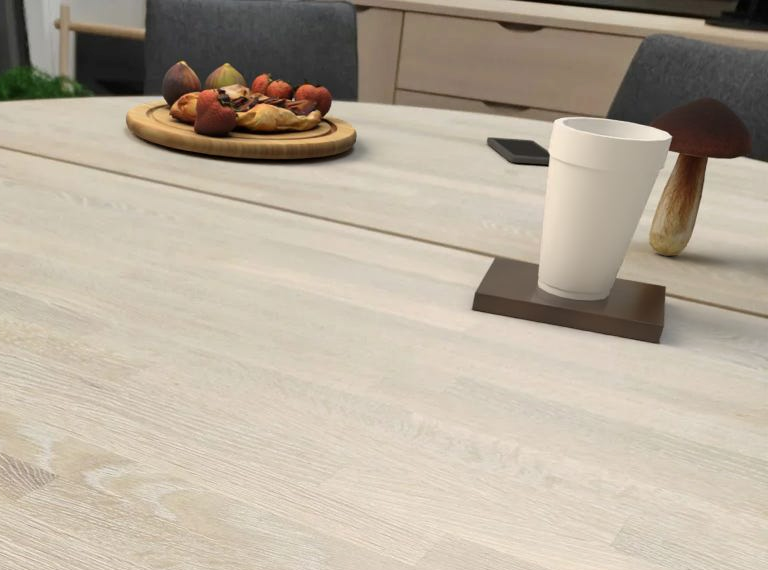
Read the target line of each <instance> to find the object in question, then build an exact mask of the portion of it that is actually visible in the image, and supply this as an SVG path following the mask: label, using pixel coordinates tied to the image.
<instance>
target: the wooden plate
mask: <svg viewBox="0 0 768 570" xmlns="http://www.w3.org/2000/svg"><path fill="white" fill-rule="evenodd" d="M291 83H292V82H291V80H290V79H289V80H285V81H284V80H283V79H277V80H274V79H273V77H272V73H267V72H263V73H262V74H261V75H259V76H257V77H256V78H255V79H254V80H253V81H252V84H251V88H249V87H247V82H246V80H245V78H244V77H243V75H242V74H241V73H240V72H239V71H237V70H236V69H235V68H234V67H233V66H231V64H230V63H229V62H226V63H223V65H221V66H220V67H218V68H216V69H214V71H212V72H211V73H210V74H209V75H208V76H207V78H206V80H205V82H204V86H203V88H202V84H201V81H200V79H199V77H198V76H197V74H196V73H195V71H194V70H193V69H192V68H191V67H190V66H188V64H187V62H186V61H185V60H181V61H179V62H176V63H175V64H174V65H172V66H171V67H170V68H168V70H167V72H166V73H165V76H164V78H163V80H162V84H161V94H162V97H163V99H164V100H161V101H151V102H147V103H142V104H138V105H135V106H134V107H131V108H130V109H129V110H128V111H127V112H126V116H125V124H126V126H127V128H128V130H129V131H130V132H131V133H133V134H134V135H135V136H137V137H139V138H141V139H142V140H146V141H148V142H151V143H154V144H157V145H160V146H165V147H169V148H172V149H175V150H176V149H177V150H183V151H188V152H193V153H199V154H200V153H201V154H207V155H213V156H222V157H233V158H244V159H245V158H246V159H263V160H265V159H266V160H296V159H311V158H321V157H329V156H335V155H338V154H341V153H344V152H346V151H348V150H350V149H351V148H352V147H354V145H355V144H356V142H357V137H358V134H357V130H356V129H355V127H353V125H352V124H351V123H349V122H347V121H345V120H343V119H341V118H338V117H335V116H333V115H330V114H328V113H329V112H330V110H331V108H332V104H333V97H332V94H331V92H330V91H329V89H328V88H326V87H325V86H322V84H320V83H318V84H316V85H311V82H310V80H309V79H308V78H305V77H303V84H302V85H300V84H298V83H296V85H295V86H291ZM202 89H203V91H202ZM293 98H294V100H293Z"/></svg>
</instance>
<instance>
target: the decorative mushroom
mask: <svg viewBox="0 0 768 570" xmlns="http://www.w3.org/2000/svg"><path fill="white" fill-rule="evenodd" d="M647 126H649V127H653V128H656V129H659V130H662V131H665V132H667V133H668V134H670V135H671V136H672V140H671V143H670V147H669V150H668V152H671V153H672V152H673V153H677V154H678V156H677V159H676V161H675V164H674V166H673V169H672V171H671V173H670V175H669V177H668V179H667V182H666V184H665V186H664V188H663V190H662V194H661V196H660V199H659V201H658V204H657V207H656V209H655V211H654V212H655V213H654V216H653V219H652V222H651V225H650V229H649V233H648V237H649V239H648V240H649V245H650V247H651V248H652V250H653V251H654V252H656V253H657V254H658V255H661V256H671V257H672V256H675V255H676V256H677V255H678V254H680V253H681V252H682V251H684V250H685V249H686V248H687V246H688V244H689V242H690V240H691V238H692V236H693V233H694V229H695V226H696V221H697V217H698V214H699V210H700V205H701V202H702V197H703V191H704V185H705V179H706V171H707V166H708V162H709V159H716V160H717V159H719V160H734V159H737V158H740V157H743V156H745V155H747V154H752V153H754V144H753V137H752V134H751V132H750V130H749V128H748V126H747V125H746V124H745V122H744V121H743V120H742V118H741V117H740V116H739V115H738V114H737V113H736V112H735V111H734V110H733V109H732V108H731V107H729V106H728V105H727V104H725V103H724V102H722V101H720V100H719V99H716V98H713V97H701V98H697V99H694V100H692V101H691V100H690V101H689V102H686V103H683V104H681V105H677V106H676V107H673V108H671V109H669V110H668V111H665V112H662V114H660V115H658V116H657V117H655V118H654V119H653V120H652V121H651V122H650V123H649V124H648V125H647Z"/></svg>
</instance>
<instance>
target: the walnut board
mask: <svg viewBox="0 0 768 570" xmlns="http://www.w3.org/2000/svg"><path fill="white" fill-rule="evenodd" d="M538 273H539V264H537V263H530V262H526V261H525V262H524V261H519V260H513V259H507V258H501V257H494V259H493V261H492V262H491V264H490V266H489V268H487V271H486V273H485V275H484V276H483V277H482V279H481V282H480V283H479V285H478V287H477V288H476V289H475V292H474V295H473V301H472V305H471V306H472V307H471V310H473V311H478V312H484V313H489V314H496V315H501V316H506V317H511V318H516V319H523V320H527V321H534V322H540V323H544V324H551V325H555V326H560V327H567V328H572V329H578V330H583V331H589V332H594V333H599V334H605V335H612V336H616V337H622V338H628V339H631V340H632V339H633V340H637V341H638V340H639V341H644V342H650V343H655V344H660V340H661V337H662V334H663V331H664V328H665V317H666V316H665V315H666V314H665V313H666V297H667V293H666V292H667V286H665V285H660V284H654V283H648V282H643V281H638V280H631V279H625V278H620V277H616V279H615V282H614V284H613V287H612V288H611V289H610V293H609V295H608V296H607V297H606V298H605V299H600V300H594V301H589V300H575V299H569V298H564V297H560V296H556V295H553V294H550V293H548V292H546V291H544V290H543V289H541V288H539V285H538V279H539V276H538Z"/></svg>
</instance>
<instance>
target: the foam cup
mask: <svg viewBox="0 0 768 570" xmlns="http://www.w3.org/2000/svg"><path fill="white" fill-rule="evenodd" d="M553 121H554V122H553V126H552V130H551V135H550V139H549V145H548V149H547V150H548V152H549V154H550V160H549V165H548V171H547V172H548V173H547V182H546V193H545V201H544V202H545V203H544V210H543V211H544V213H543V221H542V222H543V223H542V234H541V241H540V242H541V243H540V253H539V254H540V255H539V261H538V262H539V264H538V265H539V273H538V276H539V279H538V285H539V288H541V289H543V290H544V291H546V292H548V293H550V294H553V295H556V296H560V297H564V298H569V299H575V300H589V301H594V300H600V299H605V298H606V297H607V296H608V295H609V293H610V289H611V288H612V287H613V284H614V282H615V279H616V278H618V277H617V276H618V274H619V272H620V270H621V267H622V265H623V262H624V259H625V257H626V254H627V252H628V250H629V247H630V245H631V243H632V240H633V238H634V235H635V233H636V230H637V228H638V225H639V223H640V220H641V218H642V215H643V213H644V210H645V208H646V205H647V203H648V201H649V199H650V196H651V194H652V192H653V188H654V186H655V184H656V180H657V179H658V176H659V174H660V172H661V170H663V169H664V168H665V164H666V160H667V157H668V154H669V151H668V150H669V147H670V143H671V140H672V136H671V135H670V134H668V133H667V132H665V131H662V130H659V129H656V128H653V127H649V126H648V125H644V124H640V123H635V122H630V121H623V120H616V119H610V118H601V117H600V118H599V117H587V116H586V117H585V116H573V117H572V116H570V117H561V118H558V119H555V120H553Z"/></svg>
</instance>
